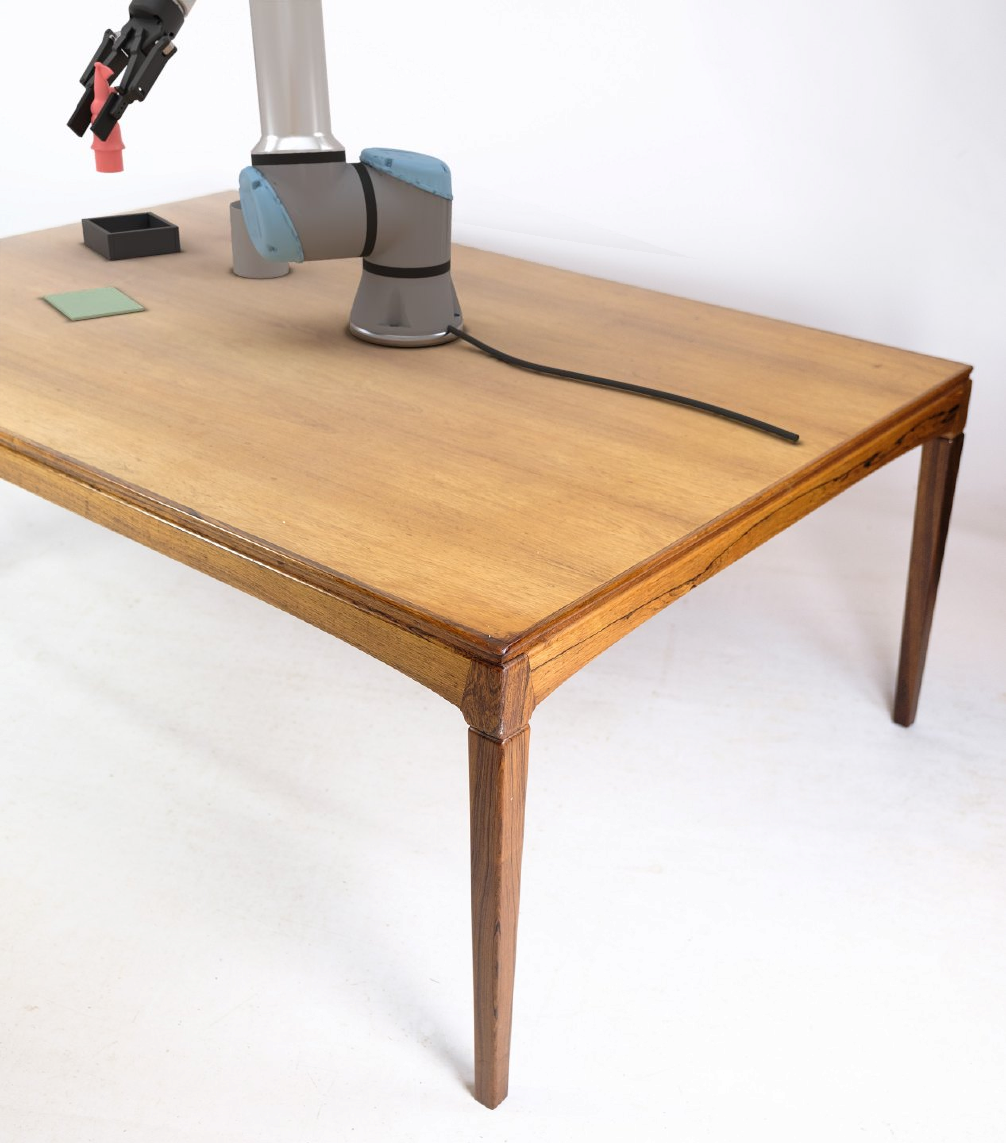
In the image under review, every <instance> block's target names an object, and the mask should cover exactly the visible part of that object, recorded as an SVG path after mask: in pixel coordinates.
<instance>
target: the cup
mask: <svg viewBox="0 0 1006 1143" xmlns="http://www.w3.org/2000/svg"><path fill="white" fill-rule="evenodd" d="M229 219H230V220H229V222H230V234H231V236H230V237H231V253H232V268H233V274H235V275H237V276H239V277H243V278H244V277H245V278H249V279H271V278H272V279H273V278H278V277H283V276H285V275H287V274H289V271H290V269H289V266H290V265H289V262H287V263H273V262H269V261H267V260H266V259H264V258H263V257H262V256H261V255H260V254H259V253H258V251H257V250H256V248H255V246H254V244H253V242H252V240H251V238H250V235H249V233H248V230H247V227H246V223H245V220H244V216H243V212H242V208H241V202H240V199H237V200H234V201H232V202H230V203H229Z"/></svg>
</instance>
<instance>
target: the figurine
mask: <svg viewBox="0 0 1006 1143" xmlns="http://www.w3.org/2000/svg"><path fill="white" fill-rule="evenodd" d="M94 66H95V67H96V69H95V80H94V92H95V98H94V101H93V102H92V104H91V113H92V114H93V115H92V118H91V123H90V126H92V124H93V122H94V121H95V119H96V117H97V116H98V114H99V112H100V110H101V109H102V107H103V105H104V104H105V102H106V100H107V99H108V97H109V95H110V94H111V92H115V93H116V94H117V95H119V93H118V92H117V91H116V90H115V89H114V86H110V87H109V84H108V82H107V79H108V78H109V77H110V76H111V75H112V74H114V73H113V71H112V70H111V69H110V68H108V67H106V66H104V65H103V64H102V63H100V62H96V63H95V64H94ZM92 136H93V139H92V140H93V141H92V143H91V145H90V150H93V153H94V161H95V170H96V172H98V173H104V174H115V173H116V174H117V173H121V172H124V169H125V168H124V167H125V166H124V157H123V150H126V145H125V144H124V142H123V138H122V131H121V126H120V123H119V122H118V121H117V123H116V125H115V126H114V128H113V130H112V131H111V133H110V135H109V136H108V138H107V140H106V141H105V142H103V141H101V140H100V139H99V138H98V137H97V136H96V135H95V134H94V133H93V132H92Z"/></svg>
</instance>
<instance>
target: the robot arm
mask: <svg viewBox="0 0 1006 1143" xmlns="http://www.w3.org/2000/svg"><path fill="white" fill-rule="evenodd" d="M322 1H323V0H248V4H249V6H248V7H249V15H250V16H249V17H250V26H251V38H252V48H253V58H254V70H255V79H256V80H255V81H256V92H257V99H258V100H257V103H258V113H259V123H260V134H261V136H260V138H259V140H258V142H257V143H255V145H254V147H253V148H252V149H251V150H250V159H251V165H247V166H246V167H244V168H242V169H241V170H240V172H239V174H238V186H239V187H238V196H239V200H240V202H241V208H242V212H243V216H244V220H245V223H246V227H247V230H248V233H249V235H250V238H251V240H252V242H253V244H254V246H255V248H256V250H257V251H258V253H259V254H260V255H261V256H262V257H263V258H264V259H266V260H267V261H269V262H273V263H287V262H288V263H295V264H298V265H300V264H303V263H306V262H316V261H317V262H318V261H331V260H341V259H342V260H344V259H355V258H356V259H357V258H362V259H361V260H362V271H361V272H362V273H361V277H360V280H359V283H358V288H357V290H356V292H355V296H354V300H353V303H352V306H351V309H350V313H349V331H350V333H351V334H352V335H353V336H355V337H356V338H358V339H360V340H362V341H365V342H367V343H372V344H375V345H381V346H388V347H401V348H403V347H404V348H415V347H416V348H417V347H429V346H436V345H443V344H445V343H448V342H451V341H454V340H456V339H458V338H460V339H462V340H464V341H465V342H466V343H469V344H471V345H472V346H474V347H476V348H478V349H479V350H481V351H483V352H485V353H486V354H490V355H491V356H493V357H495V358H498V359H500V360H501V361H504V362H507V363H510V364H512V365H515V366H519V367H521V368H525V369H527V370H531V371H536V372H539V373H543V374H548V375H554V376H558V377H562V378H569V379H573V380H578V381H581V382H587V383H592V384H596V385H602V386H606V387H611V388H615V389H619V390H625V391H628V392H629V391H630V392H633V393H638V394H642V395H647V396H651V397H655V398H658V399H663V400H668V401H671V402H676V403H679V404H682V405H686V406H690V407H692V408H697V409H700V410H704V411H706V412H709V413H713V414H716V415H719V416H721V417H726V418H728V419H732V420H735V421H737V422H740V423H742V424H746V425H749V426H751V427H754V428H757V429H760V430H763V431H766V432H769V433H771V434H774V435H776V436H779V437H782V438H783V439H786V440H789V441H792V442H795V443H797V442H799V440H800V434H797V433H796V432H795V433H794V432H792V431H789V430H786V429H784V428H781V427H778V426H776V425H773V424H771V423H769V422H768V423H767V422H766V421H762V420H759V419H756V418H754V417H750V416H748V415H745V414H742V413H738V412H736V411H733V410H730V409H727V408H723V407H720V406H718V405H714V404H711V403H707V402H703V401H701V400H696V399H694V398H690V397H686V396H682V395H679V394H675V393H672V392H667V391H663V390H660V389H659V390H658V389H655V388H651V387H646V386H641V385H637V384H634V383H633V384H632V383H629V382H624V381H620V380H616V379H615V380H614V379H610V378H605V377H600V376H595V375H591V374H586V373H581V372H577V371H572V370H565V369H561V368H556V367H552V366H547V365H542V364H538V363H535V362H530V361H527V360H524V359H521V358H518V357H515V356H512V355H509V354H507V353H505V352H503V351H500V350H498V349H496V348H494V347H491V346H490V345H488V344H485V343H484V342H482V341H480V340H479V339H477V338H475V337H473V336H472V335H470V334H468V333H466V332H464V316H463V311H462V308H461V305H460V301H459V298H458V295H457V292H456V288H455V285H454V282H453V278H452V274H451V273H452V272H451V267H452V266H451V264H452V262H451V261H452V260H451V258H452V225H453V224H452V219H453V201H454V195H453V186H452V184H453V183H452V171H451V169H450V167H449V165H448V164H447V163H446V162H445V161H444V160H442V159H440V158H438V157H435V156H433V155H429V154H425V153H420V152H417V151H411V150H404V149H399V148H398V149H397V148H390V147H375V146H374V147H366V148H363V149H362V150H361V151H360V155H359V156H358V159H359V162H347V157H346V154H347V153H346V147H345V146H344V145H343V144H342V142H340V141H339V140H338V139H337V138H336V137H335V136H334V134H333V132H332V131H333V130H332V118H331V108H330V106H331V104H330V94H329V80H328V67H327V53H326V40H325V26H324V15H323V14H324V12H323V2H322ZM196 2H197V0H131V1H130V3H129V4H128V8H127V10H128V15H129V19H128V21H126V23H125V24H123V26H122V27H121V28H120V30H118V31H113V30H112V29H111V28H107V29H106V30H105V31H104V32H103V33H104V34H103V37H102V40H101V43H100V44H99V46H98V48H97V49H96V51H95V53H94V54H93V56H92V58H91V59H90V61H89V63H88V65H87V67H86V68H85V70H84V72H83V73H82V75H81V77H80V78H79V84H81V85H82V87H83V88H84V90H85V91H84V92H83V94H82V96H81V97H80V99H79V101H78V102H77V103H76V107H75V110H74V111H73V112H72V114H71V116H70V117H69V119H68V121H67V123H66V126H67V128H69V129H70V130H71V132H73V133H74V134H75V135H76V136H77V137H78V138H83V137H84V136H85V133H86V132H87V131H88V128H89V130H90V131H91V132H92V134H93V133H94V134H95V135H96V136H97V137H98V138H99V139H100V140H101V141H103V142H105V141H106V140H107V138H108V136H109V135H110V133H111V131H112V130H113V128H114V126H115V125H116V123H117V122H118V121H119V120H121V118H122V117H123V116H124V114H125V112H126V110H127V108H128V107H129V105H132V104H133V103H135V101H138V102H139V103H143V102H144V101H145V99H146V98H147V97H148V95H149V93H150V92H151V89H152V88H153V86H154V85H155V83H156V82H157V80H158V78H159V77H160V75H161V73H162V71H163V70H164V69H165V67H166V65H167V63H168V62H169V61H170V60H171V58H172V57H173V56H174V55H175V54H176V53H177V52H178V48H177V46H176V45H175V44H174V43H173V40H175V38H176V37H177V35H178V33H179V32H180V30H181V28H182V27H183V25H184V23H185V19H186V18H187V17H188V16H189V14H190V12H191V11H192V9H193V7H194V5H195V4H196ZM96 62H100V63H102V64H103V65H104V66H106V67H108V68H110V69H111V70H112V71H113V73H114V74H112V75H111V76H110V77H109V78H108V79H107V82H108V84H109V87H112V85H113V84H114V82H115V81H116V80H117V79H118V77H119V76H120V75H121V74H122V72H123V71H124V73H123V75H122V78H121V80H120V83H119V85H114V86H113V87H114V89H115V90H116V91H117V92H118V95H117V94H116V93H115V92H111V94H110V95H109V97H108V99H107V100H106V102H105V104H104V105H103V107H102V109H101V110H100V112H99V114H98V116H97V117H96V119H95V121H94V122H93V124H92V125H91V118H92V115H93V114H92V113H91V104H92V102H93V101H94V98H95V92H94V80H95V69H96V67H95V66H94V64H95V63H96Z"/></svg>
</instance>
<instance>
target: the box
mask: <svg viewBox="0 0 1006 1143" xmlns="http://www.w3.org/2000/svg"><path fill="white" fill-rule="evenodd" d="M81 227H82V235H83V236H82V237H83V243H84V244H83V245H85V246H86V247H88V248H90V249H91V250H93V251H95V252H96V253H98V254H100V255H101V256H102V257H104V258H105V259H107V260H108V261H115V260H124V259H132V258H141V257H149V256H157V255H165V254H173V253H181V238H180V228H179V226H178V225H176V224H174V223H173V222H170V221H169V220H167V219H166V218H163V217H161V216H160V215H157V214H156V213H154V212H152V211H144V212H137V213H136V212H135V213H126V214H116V215H115V214H114V215H108V216H106V215H105V216H98V217H88V218H81Z"/></svg>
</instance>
